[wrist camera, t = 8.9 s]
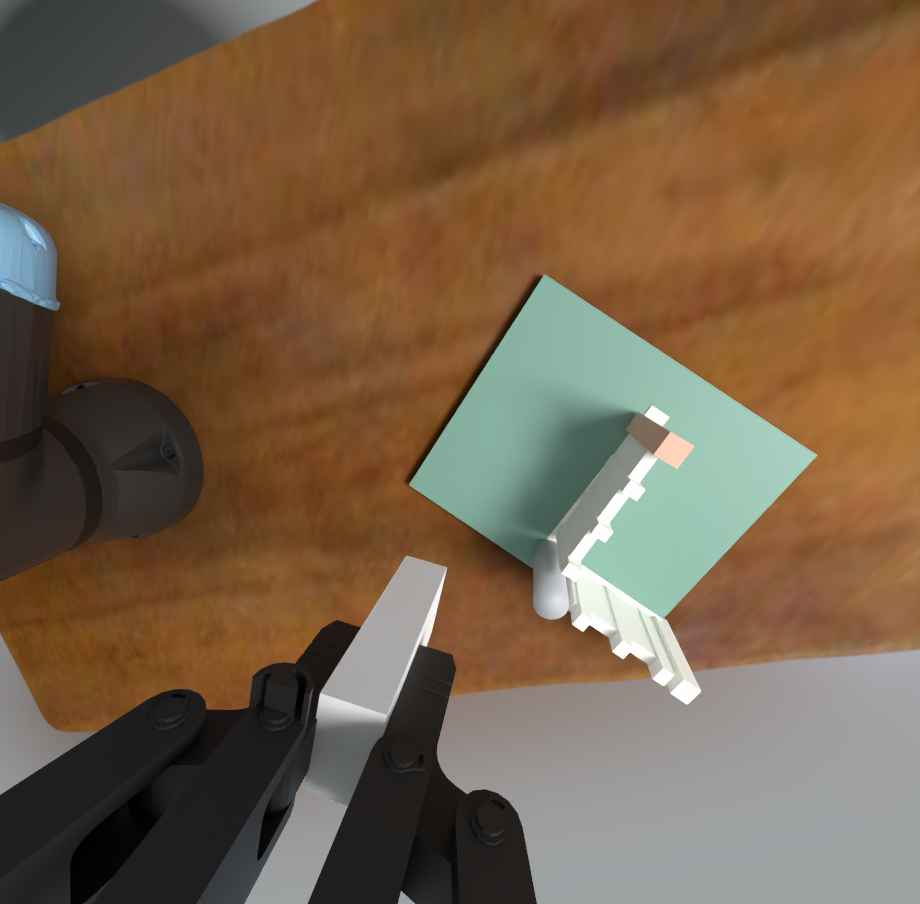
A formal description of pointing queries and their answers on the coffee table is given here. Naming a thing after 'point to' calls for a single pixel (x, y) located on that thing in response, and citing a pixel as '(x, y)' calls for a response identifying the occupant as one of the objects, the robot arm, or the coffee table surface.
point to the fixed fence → (611, 621)
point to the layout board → (604, 451)
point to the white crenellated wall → (616, 489)
